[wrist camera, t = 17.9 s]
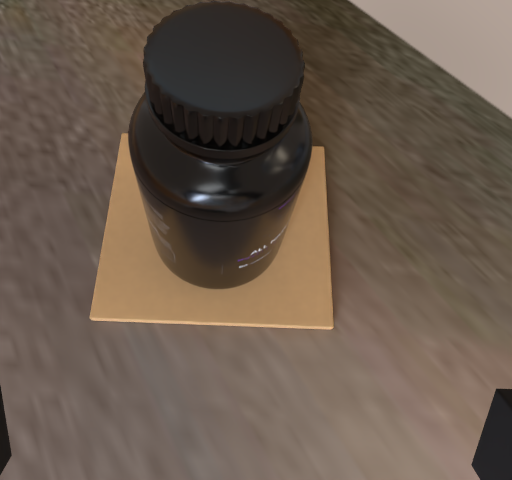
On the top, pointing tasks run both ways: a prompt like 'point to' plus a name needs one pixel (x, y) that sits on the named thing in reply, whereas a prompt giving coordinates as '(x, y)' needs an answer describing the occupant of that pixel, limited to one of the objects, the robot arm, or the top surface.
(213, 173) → the supplement bottle
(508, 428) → the robot arm
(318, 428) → the top surface
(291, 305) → the cork mat
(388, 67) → the top surface
